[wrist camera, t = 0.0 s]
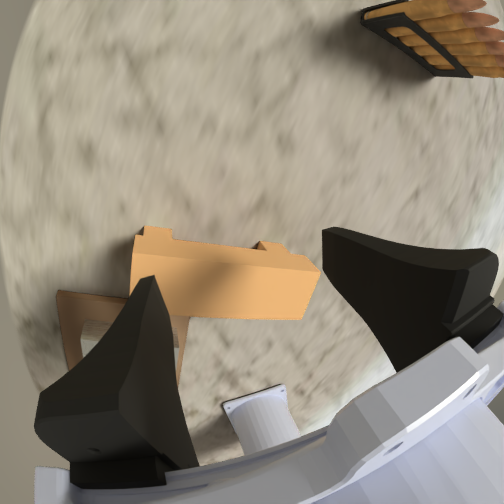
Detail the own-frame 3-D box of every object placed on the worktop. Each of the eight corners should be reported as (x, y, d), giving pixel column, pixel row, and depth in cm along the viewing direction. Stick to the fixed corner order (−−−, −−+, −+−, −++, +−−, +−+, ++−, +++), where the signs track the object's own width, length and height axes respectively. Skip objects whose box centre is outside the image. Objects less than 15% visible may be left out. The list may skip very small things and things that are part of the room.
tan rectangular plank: (274, 280, 25) (301, 319, 21) (133, 267, 21) (128, 311, 16) (288, 239, 24) (321, 272, 19) (138, 218, 19) (132, 252, 15)
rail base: (190, 304, 24) (191, 309, 23) (168, 453, 35) (168, 457, 34) (58, 290, 19) (56, 295, 19) (96, 449, 31) (96, 453, 30)
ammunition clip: (359, 23, 17) (478, 2, 6) (362, 8, 16) (477, -17, 6) (435, 76, 21) (535, 91, 10) (438, 62, 20) (535, 73, 10)
